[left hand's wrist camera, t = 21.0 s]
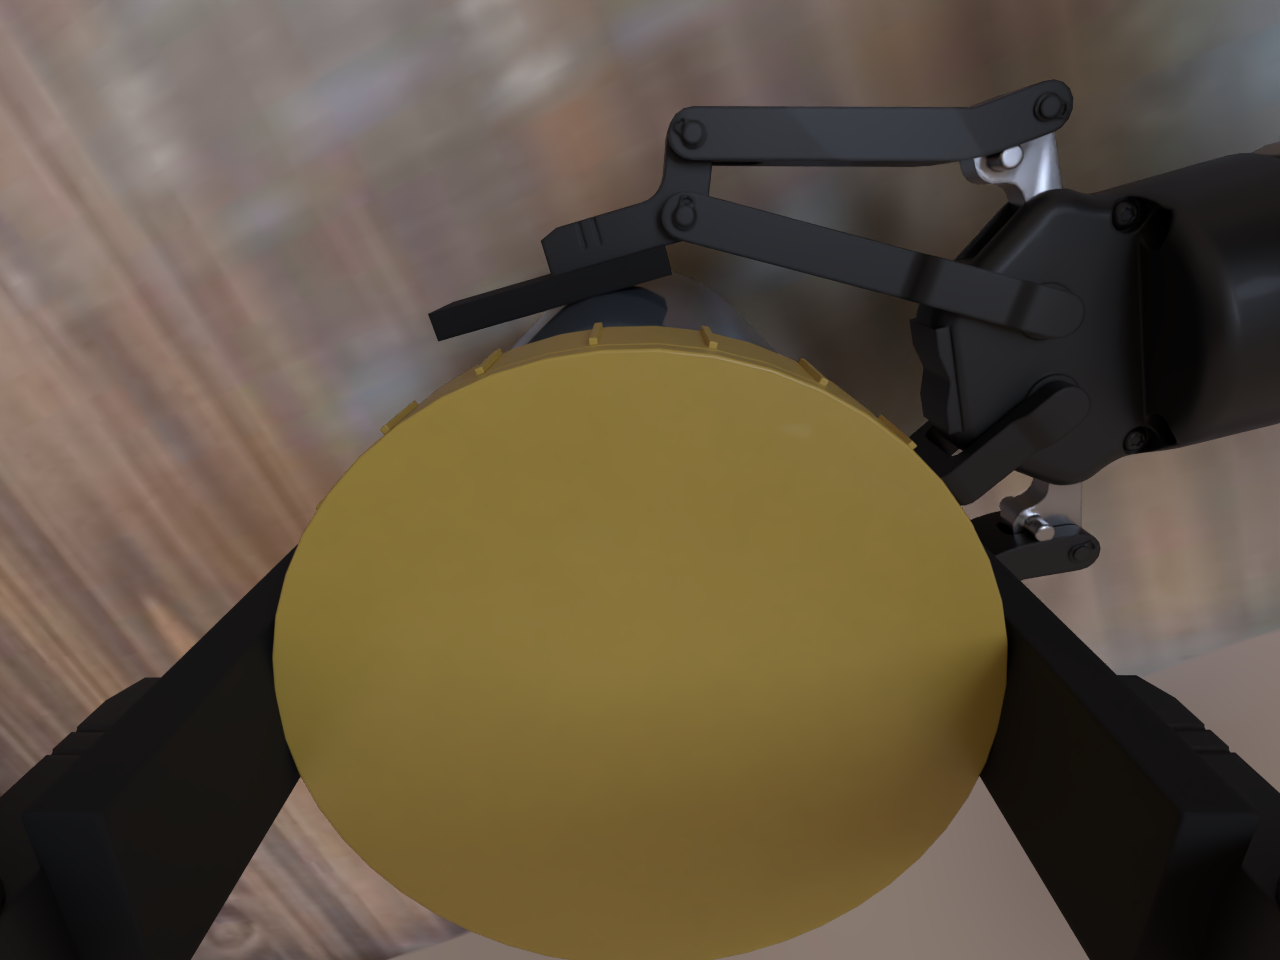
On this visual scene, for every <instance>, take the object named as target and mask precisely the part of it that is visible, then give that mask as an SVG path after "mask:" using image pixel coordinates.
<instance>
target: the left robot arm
mask: <svg viewBox="0 0 1280 960" xmlns="http://www.w3.org/2000/svg"><path fill="white" fill-rule="evenodd" d="M982 545H983V544H982ZM297 546H298V545H296V546H295V547H294V548H293V549H292V550H291V551H290V552H289V553H288V554H287V555H286V556H285V557H284V558H283V559H282V560H281V561H280V562H279V563H278V564H277V565H276V566H275V567H274V568H273V569H272V570H271V571H270V572H269V573H268V574H267V575H266V576H265V577H264V578H263V579H262V580H261V581H260V582H259V583H258V584H257V585H256V586H254V587H253V588H252V589H251V590H250V591H249V592H248V593H247V594H246V595H245V596H244V597H243V598H242V599H241V600H240V601H239V602H238V603H237V604H236V605H235V606H234V607H233V608H232V609H231V610H230V611H229V612H228V613H227V614H226V615H225V616H224V617H223V618H222V619H221V620H220V621H219V622H218V623H217V624H216V625H215V626H214V627H212V628H211V629H210V630H209V631H208V632H207V633H206V634H205V635H204V636H203V637H202V638H201V639H200V640H199V641H198V642H197V643H196V644H195V645H194V646H193V647H192V648H191V649H190V650H189V651H188V652H187V653H186V654H185V655H184V656H183V657H182V658H181V659H180V660H179V661H178V662H177V663H176V664H175V665H174V666H173V667H172V668H170V669H169V670H168V671H167V672H166V673H165V674H164V675H163V676H162V677H161V678H144V679H142V680H140V681H138V682H137V683H135V684H133V685H132V686H130V687H128V688H126V689H125V690H123V691H121V692H120V693H118V694H116V695H114V696H113V697H111V698H109V699H107V700H106V701H105V702H104V703H103V704H102V705H100V706H99V707H98V708H97V709H96V710H95V711H94V712H93V713H92V714H91V715H90V716H88V717H87V718H86V719H85V720H84V721H83V722H82V723H81V724H80V725H79V726H78V727H77V731H76V732H71V733H70V734H69V735H68V736H67V737H66V738H65V739H63V740H62V741H61V742H60V743H59V744H58V745H57V746H56V747H55V748H54V749H53V753H52V755H46V756H45V757H44V758H43V759H42V760H41V761H39V762H38V763H37V764H36V765H35V766H34V767H33V768H32V769H31V770H30V771H29V772H27V773H26V774H25V775H24V776H23V777H22V778H21V779H20V780H19V781H18V782H17V783H15V784H14V785H13V786H12V787H11V788H10V789H9V790H8V791H7V792H6V793H5V794H4V795H2V796H1V797H0V960H191V958H192V957H193V955H194V953H195V952H196V950H197V948H198V947H199V945H200V943H201V942H202V940H203V938H204V937H205V935H206V933H207V932H208V930H209V928H210V927H211V925H212V923H213V922H214V920H215V918H216V917H217V915H218V913H219V912H220V910H221V908H222V907H223V905H224V903H225V902H226V900H227V898H228V897H229V895H230V893H231V892H232V890H233V888H234V887H235V885H236V883H237V882H238V880H239V878H240V877H241V875H242V873H243V872H244V870H245V868H246V867H247V865H248V863H249V862H250V860H251V858H252V857H253V855H254V853H255V852H256V850H257V848H258V847H259V845H260V843H261V842H262V840H263V838H264V837H265V835H266V833H267V832H268V830H269V828H270V827H271V825H272V823H273V822H274V820H275V818H276V817H277V815H278V813H279V812H280V810H281V808H282V807H283V805H284V803H285V802H286V800H287V798H288V797H289V795H290V793H291V792H292V790H293V788H294V787H295V785H296V783H297V782H298V780H299V778H300V777H301V776H300V774H299V772H298V769H297V767H296V764H295V762H294V759H293V757H292V754H291V752H290V749H289V747H288V744H287V742H286V739H285V735H284V730H283V726H282V721H281V716H280V712H279V707H278V703H277V698H276V692H275V686H274V674H273V661H272V654H273V642H274V629H275V616H276V612H277V607H278V603H279V599H280V595H281V591H282V587H283V583H284V579H285V575H286V572H287V569H288V567H289V565H290V562H291V560H292V558H293V555H294V553H295V551H296V548H297ZM983 547H984V549H985V552H986V554H987V556H988V558H989V560H990V563H991V566H992V570H993V573H994V576H995V579H996V583H997V586H998V589H999V593H1000V596H1001V599H1002V604H1003V612H1004V619H1005V627H1006V634H1007V642H1008V653H1007V685H1006V690H1005V695H1004V700H1003V705H1002V709H1001V714H1000V719H999V724H998V728H997V732H996V736H995V738H994V741H993V744H992V747H991V750H990V753H989V756H988V759H987V762H986V764H985V766H984V768H983V770H982V771H981V773H980V775H979V776H980V777H981V779H982V781H983V782H984V784H985V786H986V787H987V789H988V791H989V792H990V794H991V796H992V797H993V799H994V801H995V802H996V804H997V806H998V807H999V809H1000V811H1001V812H1002V814H1003V816H1004V817H1005V819H1006V821H1007V822H1008V824H1009V826H1010V827H1011V829H1012V831H1013V832H1014V834H1015V836H1016V837H1017V839H1018V841H1019V842H1020V844H1021V846H1022V847H1023V849H1024V851H1025V852H1026V854H1027V856H1028V857H1029V859H1030V861H1031V862H1032V864H1033V866H1034V867H1035V869H1036V871H1037V872H1038V874H1039V876H1040V878H1041V879H1042V881H1043V883H1044V884H1045V886H1046V888H1047V889H1048V891H1049V892H1050V894H1051V896H1052V897H1053V899H1054V901H1055V903H1056V904H1057V906H1058V908H1059V909H1060V911H1061V913H1062V914H1063V916H1064V917H1065V919H1066V921H1067V923H1068V924H1069V926H1070V928H1071V929H1072V931H1073V932H1074V934H1075V936H1076V938H1077V939H1078V941H1079V943H1080V944H1081V946H1082V948H1083V949H1084V951H1085V952H1086V954H1087V956H1088V958H1089V959H1090V960H1280V793H1279V792H1278V791H1277V790H1276V789H1275V788H1274V787H1272V786H1271V785H1270V784H1269V783H1268V782H1267V781H1266V780H1265V779H1264V778H1263V777H1261V776H1260V775H1259V774H1258V773H1257V772H1256V771H1255V770H1254V769H1253V768H1252V767H1250V766H1249V765H1248V764H1247V763H1246V762H1245V761H1244V760H1243V759H1242V758H1241V757H1240V756H1238V755H1237V754H1236V753H1230V751H1229V746H1227V745H1226V744H1225V743H1224V742H1223V741H1222V740H1221V739H1220V738H1219V737H1218V736H1216V735H1215V734H1214V733H1213V732H1212V731H1211V730H1206V729H1205V727H1204V724H1203V723H1202V722H1201V721H1200V720H1199V719H1198V718H1197V717H1196V716H1194V715H1193V714H1192V713H1191V712H1190V711H1189V710H1188V709H1187V708H1186V707H1185V706H1183V705H1182V704H1181V703H1180V702H1179V701H1178V700H1177V699H1176V698H1175V697H1173V696H1171V695H1169V694H1168V693H1166V692H1164V691H1162V690H1161V689H1159V688H1157V687H1156V686H1154V685H1152V684H1150V683H1149V682H1147V681H1145V680H1143V679H1142V678H1140V677H1138V676H1136V675H1116V674H1115V673H1114V672H1113V671H1112V670H1111V669H1110V668H1109V667H1108V666H1107V665H1106V664H1105V663H1104V662H1103V661H1102V660H1101V659H1100V658H1099V657H1098V656H1097V655H1096V654H1095V653H1094V652H1093V651H1092V650H1091V649H1090V648H1089V647H1087V646H1086V645H1085V644H1084V643H1083V642H1082V641H1081V640H1080V639H1079V638H1078V637H1077V636H1076V635H1075V634H1074V633H1073V632H1072V631H1071V630H1070V629H1069V628H1068V627H1067V626H1066V625H1065V624H1064V623H1063V622H1062V621H1061V620H1060V619H1059V618H1058V617H1057V616H1056V615H1055V614H1054V613H1053V612H1052V611H1051V610H1050V609H1049V608H1048V607H1046V606H1045V605H1044V604H1043V603H1042V602H1041V601H1040V600H1039V599H1038V598H1037V597H1036V596H1035V595H1034V594H1033V593H1032V592H1031V591H1030V590H1029V589H1028V588H1027V587H1026V586H1025V585H1024V584H1023V583H1022V582H1021V581H1020V580H1019V579H1018V578H1017V577H1016V576H1015V575H1014V574H1013V573H1012V572H1011V571H1010V570H1009V569H1008V568H1007V567H1006V566H1004V565H1003V564H1002V563H1001V562H1000V561H999V560H998V559H997V558H996V557H995V556H994V555H993V554H992V553H991V552H990V551H989V550H988V549H987V548H986V547H985V546H984V545H983Z"/></svg>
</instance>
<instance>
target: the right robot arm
mask: <svg viewBox="0 0 1280 960" xmlns="http://www.w3.org/2000/svg"><path fill="white" fill-rule="evenodd" d="M1072 109H1073V96H1072V93H1071V91H1070V88H1069V87H1068V86H1067V85H1066V84H1065V83H1064V82H1061V81H1058V80H1048V81H1043V82H1040V83H1037V84H1034V85H1031V86H1028V87H1025V88H1022V89H1018V90H1015V91H1012V92H1009V93H1006V94H1003V95H1000V96H997V97H994V98H992V99H989V100H986V101H984V102H981V103H979V104H976V105H973V106H971V107H748V106H692V107H688V108H684V109H682V110H681V111H679V112H678V113H677V114H676V115H675V116H674V118H673V119H672V121H671V123H670V125H669V128H668V131H667V135H666V140H665V154H664V166H663V177H662V182H661V185H660V187H659V189H658V191H657V192H656V193H655V195H654V196H652V197H651V198H650V199H648V200H646V201H644V202H642V203H639V204H635V205H632V206H628V207H625V208H622V209H618V210H615V211H612V212H608V213H605V214H601V215H598V216H595V217H591V218H588V219H585V220H581V221H578V222H574V223H571V224H568V225H564V226H561V227H558V228H556V229H554V230H553V231H552V232H551V233H550V234H548V235H547V236H546V237H545V238H544V239H542V240H541V243H542V246H543V250H544V253H545V256H546V259H547V263H548V266H549V269H550V272H551V274H548V275H545V276H541V277H538V278H534V279H531V280H527V281H524V282H520V283H517V284H514V285H510V286H507V287H503V288H500V289H496V290H493V291H489V292H486V293H483V294H479V295H476V296H472V297H469V298H465V299H462V300H458V301H455V302H452V303H450V304H448V305H446V306H444V307H442V308H440V309H438V310H435V311H433V312H431V313H429V314H428V315H429V318H430V320H431V323H432V326H433V328H434V331H435V334H436V337H437V339H438V341H441V340H445V339H448V338H452V337H455V336H459V335H462V334H466V333H469V332H473V331H476V330H480V329H483V328H487V327H490V326H494V325H497V324H501V323H504V322H508V321H511V320H515V319H518V318H522V317H525V316H529V315H532V314H536V313H539V312H543V311H546V310H550V309H553V308H557V307H560V306H564V305H567V304H571V303H574V302H578V301H581V300H585V299H588V298H591V297H595V296H599V295H602V294H606V293H609V292H613V291H616V290H620V289H623V288H627V287H630V286H634V285H637V284H641V283H644V282H648V281H651V280H655V279H658V278H662V277H666V276H669V275H672V271H671V267H670V263H669V259H668V256H667V252H666V248H665V246H666V245H670V244H673V243H677V242H680V241H685V242H688V243H692V244H696V245H700V246H704V247H708V248H711V249H715V250H719V251H723V252H727V253H730V254H734V255H738V256H742V257H746V258H749V259H753V260H757V261H761V262H765V263H769V264H772V265H776V266H780V267H784V268H788V269H791V270H795V271H799V272H803V273H807V274H810V275H814V276H818V277H822V278H826V279H830V280H833V281H837V282H841V283H845V284H849V285H852V286H856V287H860V288H864V289H868V290H871V291H875V292H879V293H883V294H887V295H891V296H894V297H898V298H902V299H905V300H909V301H912V302H916V303H920V304H919V307H918V310H917V315H916V318H913V319H909V320H910V326H911V333H912V340H913V345H914V347H915V349H916V351H917V354H918V356H919V358H920V360H921V362H922V365H923V376H922V384H921V392H920V395H921V402H922V408H923V415H924V417H925V418H927V419H928V420H929V421H927V422H926V423H925V424H924V425H923V426H922V427H920V428H919V429H918V430H917V431H916V432H914V433H913V434H912V435H911V436H910V437H909V438H910V439H911V440H912V441H913V442H914V443H915V444H916V445H917V447H915V448H914V449H913V450H914V451H915V452H916V453H917V454H918V456H919V457H920V458H921V459H922V460H923V461H924V462H925V463H926V464H927V465H928V466H929V467H930V468H931V469H932V470H933V471H934V472H935V473H936V474H937V475H938V476H939V477H940V478H941V479H942V481H943V482H944V483H945V485H946V486H947V488H948V489H949V490H950V492H951V493H952V495H953V496H954V498H955V499H956V500H957V502H958V503H959V505H960V506H961V505H968V504H970V503H973V502H974V501H976V500H977V499H979V498H980V497H981V496H982V495H984V494H985V493H986V492H987V491H989V490H990V489H991V488H992V487H994V486H995V485H996V484H997V483H999V482H1000V481H1001V480H1002V479H1004V478H1005V477H1006V476H1007V475H1009V474H1010V473H1011V472H1012V471H1014V470H1015V471H1017V472H1020V473H1023V474H1025V475H1028V476H1030V477H1033V481H1032V484H1031V486H1030V487H1029V488H1028V489H1027V490H1026V491H1025V492H1024V493H1022V494H1020V495H1018V496H1016V497H1012V496H1008V497H1005V498H1004V499H1002V501H1001V502H1000V506H999V507H1000V510H1001V511H998V512H994V513H989V514H986V515H983V516H980V517H977V518H974V519H972V520H970V521H971V522H972V524H973V526H974V529H975V531H976V533H977V535H978V537H979V539H980V541H981V543H982V544H983V545H984V546H985V547H986V548H987V549H988V550H989V551H990V552H991V553H992V554H993V555H994V556H995V557H996V558H997V559H998V560H999V561H1000V562H1001V563H1002V564H1003V565H1004V566H1006V567H1007V568H1008V569H1009V570H1010V571H1011V572H1012V573H1013V574H1014V575H1015V576H1016V577H1017V578H1018V579H1019V580H1020V581H1021V580H1023V579H1029V578H1034V577H1040V576H1046V575H1052V574H1058V573H1064V572H1070V571H1076V570H1081V569H1084V568H1087V567H1088V566H1090V565H1091V564H1093V563H1094V562H1095V560H1096V559H1097V558H1098V556H1099V553H1100V545H1099V542H1098V541H1097V539H1096V538H1095V537H1094V536H1092V535H1091V534H1089V533H1088V532H1087V531H1085V530H1084V529H1082V526H1081V511H1082V482H1083V481H1085V480H1087V479H1089V478H1090V477H1092V476H1093V475H1095V474H1096V473H1097V472H1098V471H1100V470H1101V469H1102V468H1104V467H1105V466H1107V465H1108V464H1110V463H1111V462H1113V461H1115V460H1117V459H1119V458H1121V457H1124V456H1127V455H1131V454H1137V453H1145V452H1154V451H1162V450H1169V449H1175V448H1180V447H1184V446H1189V445H1193V444H1197V443H1201V442H1205V441H1209V440H1213V439H1217V438H1221V437H1225V436H1229V435H1233V434H1237V433H1241V432H1245V431H1249V430H1254V429H1258V428H1262V427H1266V426H1270V425H1274V424H1278V423H1280V142H1277V143H1273V144H1269V145H1266V146H1263V147H1262V148H1260V149H1258V150H1256V151H1254V152H1252V153H1239V154H1234V155H1228V156H1224V157H1221V158H1217V159H1214V160H1210V161H1206V162H1203V163H1199V164H1196V165H1192V166H1189V167H1185V168H1182V169H1178V170H1174V171H1171V172H1167V173H1164V174H1160V175H1157V176H1153V177H1150V178H1146V179H1142V180H1139V181H1135V182H1132V183H1128V184H1125V185H1121V186H1118V187H1114V188H1111V189H1107V190H1103V191H1100V192H1096V193H1092V194H1084V193H1080V192H1077V191H1074V190H1070V189H1063V187H1062V180H1061V174H1060V167H1059V160H1058V153H1057V146H1056V139H1055V132H1054V131H1056V130H1058V129H1059V128H1061V127H1062V126H1063V125H1064V124H1065V122H1066V121H1067V120H1068V119H1069V116H1070V114H1071V111H1072ZM957 161H960V166H961V170H962V173H963V176H964V177H965V178H966V179H967V180H968V181H969V182H971V183H973V184H977V185H981V184H994V185H998V186H999V187H1001V188H1002V189H1003V190H1004V191H1005V193H1006V194H1007V197H1008V200H1009V202H1007V203H1006V204H1005V205H1004V206H1003V207H1002V208H1001V209H1000V210H999V211H998V212H997V214H996V215H995V216H994V217H993V218H992V219H991V220H990V221H989V222H988V223H987V225H986V226H985V227H984V228H983V229H982V230H981V231H980V232H979V233H978V234H977V236H976V237H975V238H974V239H973V240H972V241H971V242H970V243H969V244H968V245H967V247H966V248H965V249H964V250H963V251H962V252H961V253H960V254H959V255H958V257H957V258H956V259H955V260H954V261H952V260H948V259H944V258H940V257H936V256H932V255H927V254H923V253H919V252H915V251H911V250H907V249H904V248H900V247H896V246H893V245H889V244H885V243H881V242H878V241H874V240H870V239H867V238H863V237H859V236H855V235H852V234H848V233H844V232H840V231H837V230H833V229H829V228H826V227H822V226H818V225H814V224H811V223H807V222H803V221H799V220H796V219H792V218H788V217H785V216H781V215H777V214H773V213H770V212H766V211H762V210H758V209H755V208H751V207H747V206H744V205H740V204H736V203H732V202H729V201H725V200H721V199H717V198H714V197H710V196H709V189H710V179H711V170H712V166H848V167H918V166H932V165H938V164H944V163H951V162H957ZM958 449H961V450H963V451H962V452H961V453H959V454H958V455H955V456H951V455H952V454H953V453H955V452H956V451H957V450H958Z"/></svg>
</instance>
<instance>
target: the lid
mask: <svg viewBox="0 0 1280 960" xmlns="http://www.w3.org/2000/svg"><path fill="white" fill-rule="evenodd" d="M380 430H381V431H382V432H383V433H384V434H385V435H384V436H383V437H381V438H380V439H379V440H378V441H377V442H376V443H375V444H373V445H372V446H371V447H370V448H369V449H368V450H367V451H365V452H364V453H363V454H362V455H361V456H360V457H359V458H358V459H357V460H356V461H355V462H354V464H353V465H352V466H351V467H350V468H349V469H348V471H347V472H346V473H345V474H344V475H343V476H342V477H341V479H340V480H339V481H338V482H337V483H336V484H335V486H334V487H333V488H332V489H331V490H330V491H329V492H328V494H327V495H326V497H325V498H324V499H323V500H322V501H321V502H320V503H319V504H318V506H317V507H316V510H317V511H316V513H315V514H314V516H313V518H312V519H311V521H310V522H309V524H308V526H307V527H306V529H305V530H304V532H303V534H302V536H301V539H300V541H299V543H298V546H297V548H296V551H295V553H294V555H293V558H292V560H291V562H290V565H289V567H288V569H287V572H286V575H285V579H284V583H283V587H282V591H281V595H280V599H279V603H278V607H277V612H276V616H275V629H274V642H273V654H272V661H273V674H274V686H275V692H276V698H277V703H278V707H279V712H280V716H281V721H282V726H283V730H284V735H285V739H286V742H287V744H288V747H289V749H290V752H291V754H292V757H293V759H294V762H295V764H296V767H297V769H298V772H299V774H300V776H301V778H302V779H303V781H304V783H305V785H306V786H307V788H308V790H309V792H310V793H311V795H312V797H313V798H314V800H315V802H316V804H317V805H318V807H319V809H320V810H321V811H322V813H323V814H324V815H325V817H326V818H327V819H328V821H329V822H330V823H331V824H332V826H333V827H334V828H335V830H336V831H337V832H338V834H339V835H340V836H341V838H342V839H343V840H344V841H345V842H346V843H347V844H348V845H349V846H350V847H351V848H352V849H353V850H354V851H355V852H356V853H357V854H358V855H359V856H360V857H361V858H362V859H363V860H364V861H365V862H366V863H367V864H368V865H369V866H370V867H371V868H372V869H373V870H374V871H376V872H377V873H378V874H379V875H381V876H382V877H383V878H384V879H386V880H387V881H388V882H389V883H390V884H392V885H393V886H394V887H395V888H397V889H398V890H399V891H400V892H402V893H403V894H405V895H406V896H408V897H410V898H411V899H413V900H414V901H416V902H417V903H419V904H421V905H422V906H424V907H425V908H427V909H428V910H430V911H432V912H433V913H435V914H437V915H439V916H441V917H443V918H445V919H447V920H449V921H451V922H453V923H455V924H457V925H459V926H461V927H463V928H465V929H467V930H469V931H471V932H474V933H476V934H479V935H482V936H484V937H487V938H490V939H492V940H495V941H498V942H500V943H503V944H506V945H508V946H512V947H516V948H519V949H523V950H527V951H530V952H534V953H538V954H542V955H545V956H550V957H556V958H562V959H568V960H714V959H719V958H724V957H729V956H734V955H739V954H743V953H748V952H751V951H754V950H758V949H761V948H764V947H767V946H771V945H774V944H777V943H780V942H784V941H786V940H789V939H791V938H794V937H796V936H799V935H801V934H803V933H806V932H808V931H811V930H813V929H815V928H818V927H820V926H822V925H824V924H826V923H828V922H830V921H832V920H834V919H835V918H837V917H839V916H841V915H843V914H845V913H846V912H848V911H850V910H852V909H854V908H856V907H857V906H859V905H860V904H862V903H863V902H865V901H866V900H868V899H869V898H870V897H872V896H873V895H875V894H876V893H878V892H879V891H881V890H882V889H883V888H885V887H886V886H888V885H889V884H891V883H892V882H893V881H894V880H895V879H896V878H897V877H899V876H900V875H901V874H902V873H903V872H904V871H906V870H907V869H908V868H909V867H910V866H911V865H912V864H914V863H915V862H916V861H917V860H918V859H919V858H920V857H921V856H922V855H923V854H924V853H925V852H926V851H927V850H928V848H929V847H930V846H931V845H932V844H933V843H934V842H935V841H936V840H937V838H938V837H939V836H940V835H941V834H942V833H943V832H944V831H945V830H946V828H947V827H948V825H949V824H950V823H951V821H952V820H953V818H954V817H955V815H956V814H957V813H958V811H959V810H960V808H961V807H962V805H963V804H964V802H965V801H966V800H967V798H968V797H969V795H970V793H971V791H972V789H973V787H974V785H975V783H976V781H977V779H978V777H979V775H980V773H981V771H982V770H983V768H984V766H985V764H986V762H987V759H988V756H989V753H990V750H991V747H992V744H993V741H994V738H995V736H996V732H997V728H998V724H999V719H1000V714H1001V709H1002V705H1003V700H1004V695H1005V690H1006V685H1007V653H1008V642H1007V634H1006V627H1005V619H1004V612H1003V604H1002V599H1001V596H1000V593H999V589H998V586H997V583H996V579H995V576H994V573H993V570H992V566H991V563H990V560H989V558H988V556H987V554H986V552H985V549H984V547H983V545H982V543H981V541H980V539H979V537H978V535H977V533H976V531H975V529H974V526H973V524H972V522H971V521H970V519H969V517H968V516H967V515H966V513H965V512H964V510H963V509H962V508H961V506H960V505H959V503H958V502H957V500H956V499H955V498H954V496H953V495H952V493H951V492H950V490H949V489H948V488H947V486H946V485H945V483H944V482H943V481H942V479H941V478H940V477H939V476H938V475H937V474H936V473H935V472H934V471H933V470H932V469H931V468H930V467H929V466H928V465H927V464H926V463H925V462H924V461H923V460H922V459H921V458H920V457H919V456H918V454H917V453H916V452H915V451H914V450H913V449H914V448H915V447H917V445H916V444H915V443H914V442H913V441H912V440H911V439H910V438H908V437H907V436H906V435H905V434H904V433H902V432H901V431H900V430H899V429H898V428H897V427H895V426H894V425H893V424H892V423H891V422H889V421H888V420H887V419H886V418H885V417H884V416H882V415H880V416H879V417H878V418H877V417H876V416H875V415H873V414H872V413H871V412H870V411H869V410H868V409H866V408H865V407H864V406H863V405H861V404H860V403H859V402H857V401H856V400H855V399H854V398H852V397H851V396H850V395H848V394H847V393H846V392H845V391H843V390H842V389H841V388H839V387H838V386H837V385H835V384H834V383H833V382H831V381H830V380H828V379H827V378H825V377H824V376H823V375H822V374H821V373H820V372H819V371H818V370H817V369H815V368H814V367H813V366H812V365H811V364H810V363H809V362H808V361H806V360H805V359H803V358H800V360H799V362H796V361H794V360H792V359H790V358H787V357H785V356H782V355H780V354H777V353H775V352H772V351H770V350H767V349H765V348H762V347H760V346H757V345H755V344H752V343H750V342H746V341H742V340H738V339H734V338H730V337H726V336H722V335H718V334H713V333H712V332H711V330H710V328H709V327H707V326H701V330H700V331H699V330H689V329H680V328H671V327H662V326H625V327H604V328H603V326H602V322H600V323H595V324H594V327H593V329H591V330H585V331H578V332H572V333H566V334H560V335H557V336H553V337H550V338H546V339H543V340H540V341H536V342H533V343H530V344H526V345H523V346H520V347H516V348H514V349H512V350H509V351H507V352H505V353H503V354H502V351H501V349H500V348H499V349H497V350H495V351H493V352H492V353H491V354H490V355H489V356H488V357H487V358H486V359H485V360H484V361H483V362H482V363H481V364H478V365H476V366H474V367H472V368H471V369H469V370H468V371H466V372H464V373H463V374H461V375H460V376H458V377H456V378H455V379H453V380H452V381H450V382H449V383H447V384H445V385H444V386H442V387H441V388H439V389H438V390H436V391H435V392H434V393H432V394H431V395H430V396H429V397H428V398H426V399H425V400H424V401H423V402H422V403H421V404H419V405H418V403H417V402H416V401H413V402H412V403H411V404H410V405H408V406H407V407H406V408H405V409H404V410H402V411H401V412H400V413H399V414H398V415H396V416H395V417H394V418H393V419H392V420H391V421H389V422H388V423H387V424H386V425H385V426H383V427H382V428H381V429H380Z"/></svg>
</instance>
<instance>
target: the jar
mask: <svg viewBox="0 0 1280 960" xmlns="http://www.w3.org/2000/svg"><path fill="white" fill-rule="evenodd" d="M600 322H602V326H603V328H604V327H625V326H662V327H671V328H680V329H689V330H699V331H700V330H701V326H707V327H709V328H710V330H711V332H712V333H713V334H718V335H722V336H726V337H730V338H734V339H738V340H742V341H746V342H750V343H752V344H755V345H757V346H760V347H762V348H765V349H767V350H770V351H772V352H775V353H777V354H779V353H778V352H777V351H776V350H775V349H774V348H773V347H772V346H771V345H770V344H769V343H768V342H767V341H766V340H765V339H764V338H763V337H762V336H761V335H760V334H759V333H758V332H757V331H756V329H755V328H754V327H753V326H752V325H751V324H750V323H749V322H748V321H747V320H746V319H745V318H744V317H743V316H742V315H741V314H740V313H739V312H738V311H737V310H736V309H735V308H734V307H733V306H732V305H731V304H730V303H729V302H728V301H727V300H726V299H724V298H723V297H722V296H721V295H720V294H718V293H717V292H715V291H714V290H712V289H711V288H710V287H708V286H706V285H704V284H702V283H700V282H699V281H697V280H695V279H693V278H690V277H687V276H684V275H681V274H679V273H676V272H672V275H669V276H666V277H662V278H658V279H655V280H651V281H648V282H644V283H641V284H637V285H634V286H630V287H627V288H623V289H620V290H616V291H613V292H609V293H606V294H602V295H599V296H595V297H591V298H588V299H585V300H581V301H578V302H574V303H571V304H567V305H564V306H560V307H557V308H553V309H550V310H547V311H546V312H545V313H544V314H543V315H542V316H541V317H540V318H539V319H538V320H537V321H536V322H535V323H534V324H533V325H532V326H531V327H530V328H529V329H528V330H527V331H526V332H525V333H524V335H523V336H522V337H521V338H520V339H519V340H518V341H517V342H516V343H515V344H514V345H513V346H512V347H511V348H510V349H509V350H512V349H514V348H516V347H520V346H523V345H526V344H530V343H533V342H536V341H540V340H543V339H546V338H550V337H553V336H557V335H560V334H566V333H572V332H578V331H585V330H591V329H593V327H594V324H595V323H600ZM509 350H508V351H509Z"/></svg>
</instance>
